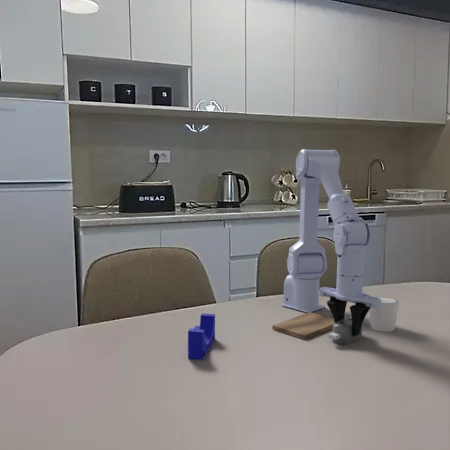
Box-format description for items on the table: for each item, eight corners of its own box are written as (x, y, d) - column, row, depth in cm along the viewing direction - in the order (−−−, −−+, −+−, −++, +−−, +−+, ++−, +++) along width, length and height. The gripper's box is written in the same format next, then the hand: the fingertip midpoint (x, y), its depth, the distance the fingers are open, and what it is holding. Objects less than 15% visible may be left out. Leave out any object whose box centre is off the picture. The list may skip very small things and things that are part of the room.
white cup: (393, 323, 116) (394, 296, 116) (400, 333, 110) (402, 304, 109) (365, 322, 117) (366, 295, 116) (371, 331, 110) (372, 303, 109)
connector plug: (324, 343, 102) (325, 326, 102) (351, 331, 110) (352, 315, 110) (338, 348, 100) (339, 330, 99) (364, 335, 108) (365, 318, 107)
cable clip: (195, 338, 106) (195, 312, 105) (214, 339, 105) (215, 314, 104) (180, 359, 94) (180, 330, 93) (202, 360, 93) (202, 332, 93)
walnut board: (272, 329, 111) (272, 325, 111) (310, 315, 122) (310, 312, 122) (304, 339, 105) (304, 335, 105) (341, 324, 115) (341, 320, 115)
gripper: (312, 271, 106) (310, 328, 108) (370, 282, 96) (368, 345, 98) (329, 267, 111) (327, 322, 113) (386, 277, 101) (383, 337, 102)
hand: (347, 332), depth 105 cm, fingers closed on connector plug, 3 cm apart
